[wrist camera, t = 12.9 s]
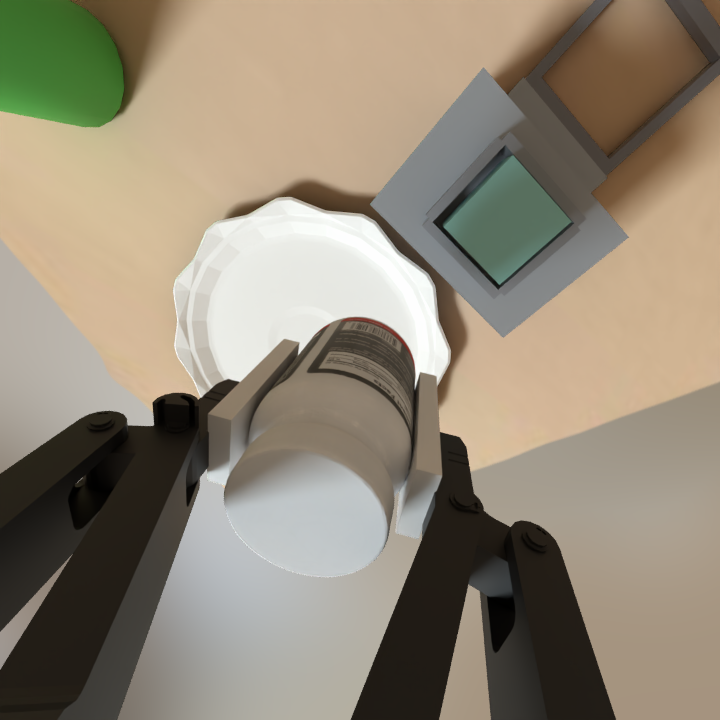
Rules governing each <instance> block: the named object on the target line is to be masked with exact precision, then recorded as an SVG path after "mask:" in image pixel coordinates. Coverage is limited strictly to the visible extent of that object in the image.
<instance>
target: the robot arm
mask: <svg viewBox="0 0 720 720" xmlns="http://www.w3.org/2000/svg"><path fill="white" fill-rule="evenodd" d="M299 343H300V342H296V341H292V340H288V339H283V340H282V341H281V342H280V343H279V344H278V345H277V346H276V347H275V348H274V349H273V350H272V351H271V352H270V353H269V354H268V355H267V356H266V357H265V358H264V359H263V360H262V361H261V362H260V363H259V364H258V365H257V366H256V367H255V368H254V369H253V370H252V371H251V372H250V373H249V374H248V375H247V376H246V377H245V378H244V379H243V380H242V381H241V382H239V381H235V380H231V379H227V380H224V381H222V382H219V383H217V384H216V385H214V386H213V387H212V388H211V389H210V390H209V392H207V393H205V394H204V395H203V397H201V398H200V399H199V400H198V399H197V398H196V397H195V396H193V395H191V394H186V393H171V394H166V395H163V396H161V397H159V398H157V399H156V400H155V401H154V402H153V415H154V426H128V425H127V418H126V417H125V416H124V415H123V414H121V413H119V412H113V411H102V412H96V413H92V414H89V415H87V416H85V417H83V418H81V419H79V420H78V421H76V422H75V423H74V424H72V425H71V426H69V427H68V428H66V429H65V430H63V431H62V432H60V433H59V434H57V435H56V436H55V437H53V438H52V439H50V440H49V441H47V442H46V443H44V444H43V445H41V446H40V447H39V448H37V449H36V450H34V451H33V452H31V453H30V454H28V455H27V456H25V457H24V458H23V459H21V460H20V461H18V462H17V463H15V464H14V465H12V466H11V467H9V468H8V469H7V470H5V471H4V472H2V473H1V474H0V631H1V630H2V629H3V628H4V627H5V626H6V625H7V624H8V623H9V622H10V621H11V619H13V617H14V616H15V615H16V614H17V613H18V612H19V611H20V610H21V609H22V608H23V607H24V606H25V605H26V603H27V602H28V601H29V600H30V599H31V598H32V597H33V596H34V595H35V594H36V593H37V592H38V590H39V589H40V588H41V587H42V586H43V585H44V584H45V583H46V582H47V581H48V580H49V579H50V578H51V577H52V575H53V574H54V573H55V572H56V571H57V570H58V569H59V568H60V567H61V566H62V565H63V564H64V563H65V561H66V560H67V559H68V558H69V557H70V556H71V555H72V554H73V555H72V556H71V558H70V560H69V561H68V563H67V564H66V566H65V567H64V569H63V571H62V572H61V574H60V575H59V577H58V579H57V580H56V582H55V583H54V585H53V587H52V588H51V590H50V592H49V593H48V595H47V596H46V598H45V599H44V601H43V602H42V604H41V606H40V607H39V609H38V611H37V612H36V614H35V615H34V617H33V619H32V620H31V622H30V623H29V625H28V627H27V628H26V630H25V631H24V633H23V634H22V636H21V638H20V639H19V641H18V642H17V644H16V646H15V647H14V649H13V650H12V652H11V653H10V655H9V657H8V658H7V660H6V662H5V663H4V665H3V666H2V668H1V670H0V720H117V719H118V716H119V713H120V710H121V707H122V704H123V702H124V699H125V696H126V693H127V690H128V688H129V685H130V682H131V679H132V676H133V673H134V671H135V668H136V665H137V662H138V659H139V656H140V654H141V651H142V648H143V645H144V643H145V640H146V637H147V634H148V631H149V629H150V626H151V623H152V620H153V617H154V614H155V611H156V609H157V605H158V603H159V600H160V598H161V595H162V592H163V589H164V586H165V584H166V581H167V578H168V575H169V572H170V569H171V567H172V564H173V561H174V558H175V555H176V552H177V550H178V547H179V544H180V541H181V538H182V536H183V533H184V530H185V527H186V524H187V522H188V519H189V516H190V513H191V510H192V507H193V505H194V502H195V499H196V496H197V493H198V490H199V486H200V476H201V475H202V474H203V473H204V472H205V470H206V469H207V480H208V481H211V482H215V483H218V484H222V485H225V486H226V482H227V479H228V477H229V475H230V473H231V471H232V469H233V468H234V467H235V465H236V464H237V462H238V461H239V459H240V458H241V456H242V455H243V453H244V452H245V451H246V449H247V448H248V447H249V430H250V425H251V422H252V419H253V416H254V414H255V412H256V410H257V408H258V406H259V405H260V403H261V401H262V400H263V398H264V397H265V396H266V394H267V393H268V392H269V391H270V390H271V388H272V387H273V386H274V385H275V383H276V382H277V381H278V380H279V379H280V377H281V376H282V375H283V374H284V372H285V371H286V370H287V369H288V367H289V366H290V365H291V364H292V363H293V361H294V360H295V359H296V357H297V356H298V351H299ZM82 477H83V479H81V478H82ZM80 479H81V480H80ZM79 480H80V481H79ZM78 481H79V482H78ZM77 482H78V483H77ZM483 509H484V508H483V505H482V503H481V501H480V499H479V498H477V496H476V495H475V494H474V492H473V486H472V480H471V473H470V467H469V461H468V455H467V448H466V446H465V444H464V443H463V441H462V440H461V439H460V437H457V436H453V435H449V434H445V433H441V432H440V428H439V411H438V393H437V376H434V375H430V374H426V373H422V372H420V374H419V377H418V381H417V384H416V388H415V396H414V417H413V442H412V457H411V464H410V468H409V472H408V475H407V478H406V480H405V482H404V484H403V486H402V488H401V489H400V490H399V499H398V510H397V520H396V531H395V533H398V534H401V535H405V536H408V537H412V538H415V539H419V536H420V533H421V531H422V541H421V544H420V546H419V549H418V551H417V554H416V556H415V558H414V561H413V564H412V566H411V569H410V571H409V574H408V576H407V579H406V581H405V584H404V586H403V589H402V591H401V594H400V597H399V599H398V602H397V604H396V606H395V609H394V611H393V614H392V617H391V619H390V622H389V624H388V627H387V629H386V632H385V634H384V637H383V640H382V642H381V644H380V647H379V649H378V652H377V654H376V657H375V660H374V662H373V665H372V667H371V670H370V672H369V675H368V677H367V680H366V683H365V685H364V687H363V690H362V692H361V695H360V697H359V700H358V703H357V705H356V708H355V710H354V713H353V715H352V718H351V720H439V717H440V712H441V708H442V703H443V699H444V694H445V689H446V685H447V680H448V676H449V671H450V666H451V662H452V657H453V653H454V647H455V643H456V639H457V634H458V630H459V625H460V620H461V616H462V611H463V607H464V602H465V597H466V593H467V588H468V584H469V585H471V586H472V587H474V588H476V589H477V590H479V591H480V598H481V609H482V620H483V632H484V644H485V655H486V666H487V679H488V690H489V701H490V713H491V720H616V718H615V715H614V712H613V709H612V706H611V703H610V700H609V697H608V694H607V691H606V688H605V685H604V682H603V679H602V676H601V673H600V670H599V667H598V664H597V661H596V657H595V654H594V651H593V648H592V645H591V642H590V639H589V636H588V634H587V630H586V627H585V624H584V621H583V618H582V615H581V612H580V609H579V606H578V603H577V600H576V597H575V594H574V590H573V587H572V585H571V581H570V579H569V575H568V572H567V569H566V566H565V563H564V560H563V557H562V554H561V551H560V548H559V546H558V545H557V542H556V540H555V539H554V538H553V537H552V536H551V535H550V534H549V533H548V532H547V531H546V530H544V529H543V528H542V527H540V526H539V525H536V524H534V523H531V522H528V521H518V522H515V523H514V524H513V525H512V526H511V527H509V526H507V525H505V524H503V523H502V522H500V521H498V520H496V519H494V518H493V517H491V516H489V515H488V514H487V513H486V512H485V511H484V510H483Z"/></svg>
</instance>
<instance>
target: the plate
mask: <svg viewBox="0 0 720 720" xmlns="http://www.w3.org/2000/svg"><path fill="white" fill-rule="evenodd" d="M173 294H174V301H175V307H176V314H177V327H176V335H175V344H174V347H175V350H176V354H177V357H178V358H179V360H180V361H181V363H182V364H183V366H184V367H185V369H186V370H187V372H188V373H189V374H190V376H191V377H192V379H193V380H194V382H195V385H196V387H197V390H198V392H199V395H200V397H203V395H204V394H205V393H207V392H209V390H210V389H211V388H212V387H213V386H214V385H216V384H217V383H219V382H222V381H224V380H227V379H231V380H235V381H239V382H241V381H242V380H243V379H244V378H245V377H246V376H247V375H248V374H249V373H250V372H251V371H252V370H253V369H254V368H255V367H256V366H257V365H258V364H259V363H260V362H261V361H262V360H263V359H264V358H265V357H266V356H267V355H268V354H269V353H270V352H271V351H272V350H273V349H274V348H275V347H276V346H277V345H278V344H279V343H280V342H281V341H282V340H283V339H288V340H292V341H296V342H300V343H299V351H298V355H299V354H300V353H301V351H302V350H303V349H304V347H305V346H306V345H307V344H308V342H309V341H310V340H311V339H312V337H313V336H314V335H315V334H316V333H317V332H318V331H319V330H320V329H322V328H323V327H324V326H326V325H327V324H329V323H331V322H333V321H336V320H339V319H342V318H347V317H367V318H371V319H375V320H378V321H380V322H382V323H384V324H386V325H388V326H389V327H391V328H392V329H394V330H395V331H396V332H397V333H398V334H399V335H400V336H401V337H402V338H403V339H404V341H405V342H406V343H407V345H408V347H409V349H410V350H411V353H412V355H413V359H414V363H415V373H416V379H415V388H416V384H417V381H418V377H419V374H420V372H422V373H426V374H430V375H434V376H437V386H438V384H439V382H440V381H441V379H442V377H443V375H444V373H445V371H446V369H447V367H448V366H449V364H450V358H451V349H450V346H449V344H448V342H447V339H446V337H445V334H444V332H443V329H442V327H441V324H440V322H439V318H438V308H437V298H436V288H435V284H434V283H433V281H432V279H431V277H430V276H429V274H428V273H427V272H426V271H425V270H423V269H422V268H421V267H419V266H418V265H416V264H415V263H414V262H412V261H411V260H410V259H408V258H407V257H406V256H404V255H403V254H402V253H400V252H399V251H398V249H397V248H396V247H395V246H394V244H393V243H392V242H391V240H390V239H389V238H388V236H387V235H386V234H385V232H384V231H383V230H382V229H381V227H380V226H379V225H378V223H377V222H376V221H375V220H373V219H371V218H369V217H367V216H366V215H364V214H358V213H347V212H336V211H326V210H323V209H321V208H318V207H316V206H313V205H311V204H308V203H306V202H303V201H301V200H298V199H296V198H293V197H280V198H276V199H274V200H272V201H270V202H269V203H267V204H265V205H264V206H262V207H260V208H258V209H257V210H255V211H253V212H252V213H250V214H248V215H244V216H239V217H234V218H229V219H225V220H220V221H216V222H215V223H213V224H212V225H211V226H210V227H209V228H207V230H206V232H205V234H204V236H203V239H202V241H201V243H200V246H199V248H198V250H197V253H196V255H195V257H194V259H193V260H192V261H191V262H190V263H189V264H188V266H187V267H186V268H185V269H184V270H183V271H182V272H181V273H180V275H179V276H178V277H177V278H176V280H175V284H174V288H173Z"/></svg>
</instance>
